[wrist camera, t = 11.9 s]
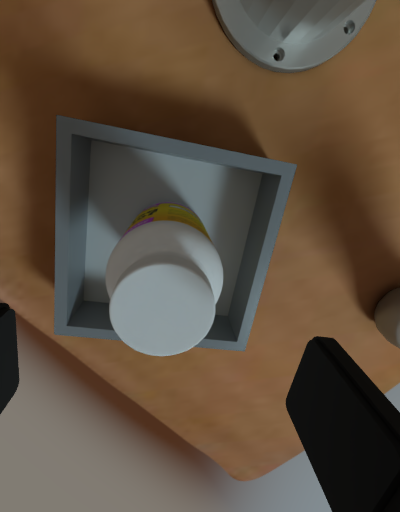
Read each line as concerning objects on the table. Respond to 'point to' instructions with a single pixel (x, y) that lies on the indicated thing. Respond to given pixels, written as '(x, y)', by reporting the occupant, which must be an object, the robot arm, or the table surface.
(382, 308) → the plastic bottle
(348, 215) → the table surface
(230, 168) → the box
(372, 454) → the robot arm
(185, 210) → the supplement bottle
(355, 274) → the table surface
